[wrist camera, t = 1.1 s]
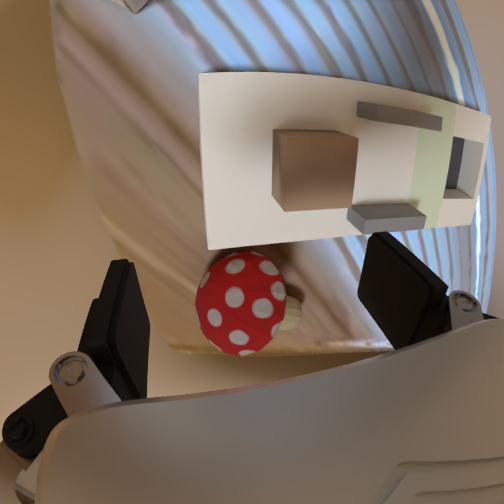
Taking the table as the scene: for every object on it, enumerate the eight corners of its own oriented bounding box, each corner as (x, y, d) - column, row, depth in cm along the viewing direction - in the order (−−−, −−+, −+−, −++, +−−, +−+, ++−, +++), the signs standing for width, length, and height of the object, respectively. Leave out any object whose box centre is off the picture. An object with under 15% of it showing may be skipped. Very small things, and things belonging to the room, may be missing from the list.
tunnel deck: (197, 76, 24) (200, 70, 17) (470, 110, 30) (510, 122, 23) (205, 231, 32) (211, 270, 26) (453, 213, 38) (486, 236, 32)
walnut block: (272, 129, 24) (287, 136, 21) (336, 130, 25) (358, 138, 22) (271, 195, 27) (284, 212, 24) (331, 192, 28) (351, 207, 25)
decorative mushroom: (335, 353, 34) (257, 353, 23) (261, 358, 40) (172, 355, 29) (328, 264, 38) (254, 223, 27) (259, 282, 44) (176, 254, 33)
